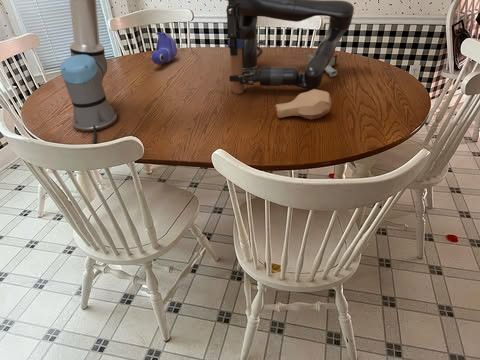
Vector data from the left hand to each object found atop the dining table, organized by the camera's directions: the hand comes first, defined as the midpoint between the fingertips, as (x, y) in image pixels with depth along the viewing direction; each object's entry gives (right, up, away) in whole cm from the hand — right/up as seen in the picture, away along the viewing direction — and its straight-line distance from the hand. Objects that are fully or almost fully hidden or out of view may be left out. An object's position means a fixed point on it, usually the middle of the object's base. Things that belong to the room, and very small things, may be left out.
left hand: (235, 51), depth 141 cm
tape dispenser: (+41, +1, +26) cm, 49 cm away
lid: (0, +3, -2) cm, 4 cm away
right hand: (-2, -8, +6) cm, 10 cm away
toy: (-38, +10, +45) cm, 59 cm away
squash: (+25, -28, -12) cm, 39 cm away
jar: (+1, -13, +10) cm, 17 cm away
